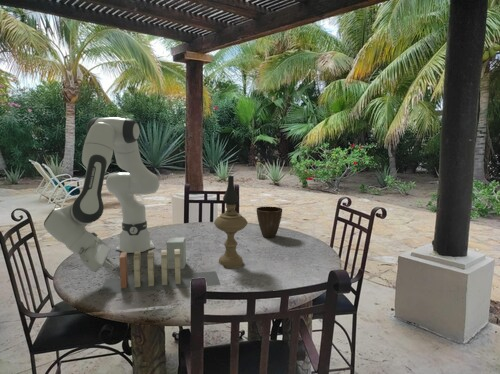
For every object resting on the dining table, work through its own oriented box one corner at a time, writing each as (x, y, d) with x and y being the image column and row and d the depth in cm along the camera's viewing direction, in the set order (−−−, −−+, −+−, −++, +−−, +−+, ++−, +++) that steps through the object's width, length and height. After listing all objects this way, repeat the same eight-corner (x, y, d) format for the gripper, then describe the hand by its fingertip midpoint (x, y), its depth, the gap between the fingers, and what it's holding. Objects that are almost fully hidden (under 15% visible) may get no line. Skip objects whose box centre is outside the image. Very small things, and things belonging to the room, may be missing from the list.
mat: (105, 281, 144) (105, 279, 144) (215, 273, 154) (215, 271, 154) (98, 296, 131) (98, 294, 131) (220, 286, 140) (220, 284, 140)
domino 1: (122, 281, 142) (121, 252, 140) (128, 281, 142) (126, 252, 140) (120, 288, 136) (119, 257, 134) (126, 287, 136) (125, 257, 135)
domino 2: (136, 280, 143) (134, 251, 141) (141, 280, 143) (140, 251, 141) (134, 287, 137) (133, 256, 135) (140, 286, 137) (139, 256, 136)
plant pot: (251, 234, 213) (252, 207, 211) (274, 231, 220) (274, 205, 217) (263, 241, 200) (263, 212, 198) (286, 237, 206) (287, 210, 204)
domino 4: (162, 278, 145) (161, 250, 143) (167, 278, 145) (166, 249, 144) (162, 285, 139) (161, 254, 137) (167, 284, 140) (166, 254, 138)
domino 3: (149, 279, 144) (148, 250, 142) (154, 279, 144) (153, 250, 143) (148, 286, 138) (147, 255, 136) (153, 285, 139) (152, 255, 137)
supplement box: (186, 264, 164) (186, 237, 162) (184, 270, 156) (183, 242, 154) (170, 264, 163) (169, 237, 162) (166, 270, 156) (166, 242, 154)
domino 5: (175, 278, 146) (174, 249, 144) (180, 277, 146) (179, 248, 145) (175, 284, 140) (174, 254, 138) (180, 283, 141) (180, 253, 139)
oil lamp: (217, 271, 156) (216, 178, 150) (211, 259, 170) (210, 174, 164) (251, 267, 160) (252, 177, 154) (242, 256, 174) (243, 173, 168)
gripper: (83, 246, 124) (115, 272, 127) (95, 231, 144) (122, 253, 147) (70, 260, 124) (102, 285, 127) (84, 242, 143) (111, 264, 147)
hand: (113, 268), depth 137 cm, fingers closed
